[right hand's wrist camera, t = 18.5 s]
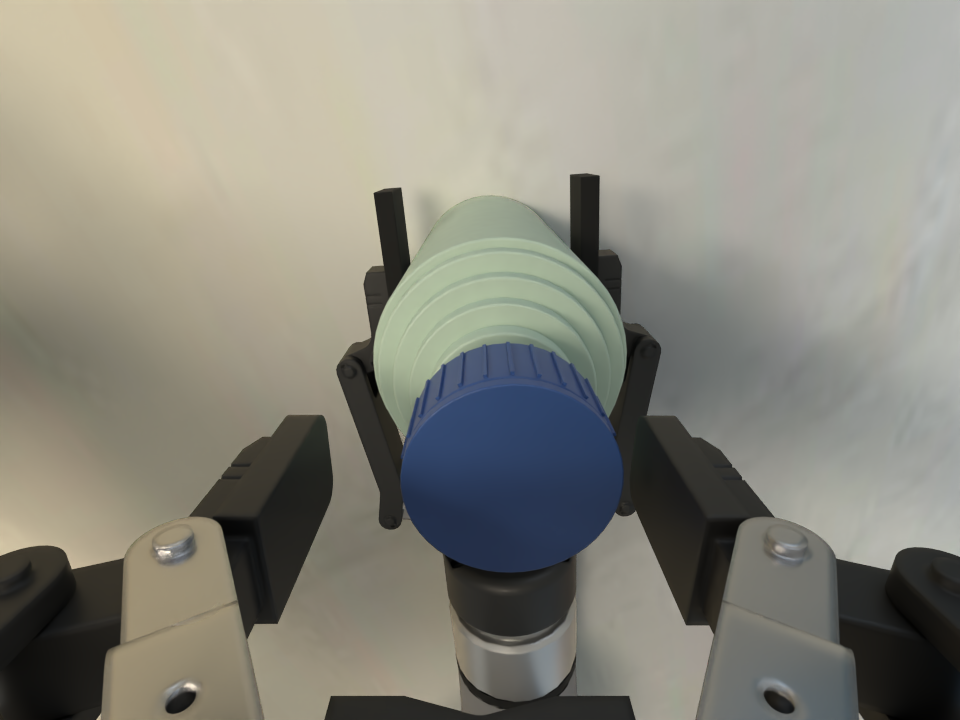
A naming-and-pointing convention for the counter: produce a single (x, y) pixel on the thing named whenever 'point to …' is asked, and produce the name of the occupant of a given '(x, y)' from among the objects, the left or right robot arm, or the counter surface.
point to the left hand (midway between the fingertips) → (485, 183)
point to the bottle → (495, 303)
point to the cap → (510, 460)
